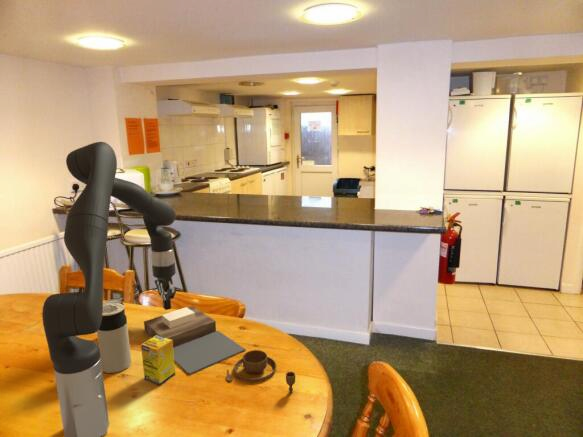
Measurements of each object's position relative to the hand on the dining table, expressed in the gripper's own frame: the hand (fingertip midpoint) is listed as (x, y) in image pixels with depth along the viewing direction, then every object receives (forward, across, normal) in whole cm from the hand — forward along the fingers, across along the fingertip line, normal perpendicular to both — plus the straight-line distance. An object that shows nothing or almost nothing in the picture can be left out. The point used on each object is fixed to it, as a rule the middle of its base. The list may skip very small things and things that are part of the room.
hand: (167, 308), depth 144 cm
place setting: (+6, +48, +4) cm, 48 cm away
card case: (+1, +9, 0) cm, 9 cm away
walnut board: (+5, +9, 0) cm, 11 cm away
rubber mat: (+5, +26, 0) cm, 26 cm away
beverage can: (+6, -3, -17) cm, 18 cm away
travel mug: (+6, +15, -23) cm, 28 cm away
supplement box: (+6, +29, -16) cm, 34 cm away
